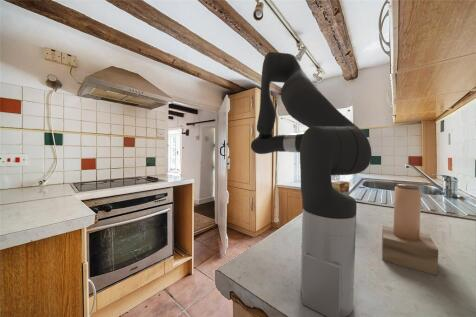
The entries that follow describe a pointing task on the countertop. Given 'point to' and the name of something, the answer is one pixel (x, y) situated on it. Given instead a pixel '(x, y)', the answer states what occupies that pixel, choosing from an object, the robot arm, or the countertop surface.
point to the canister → (407, 211)
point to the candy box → (341, 186)
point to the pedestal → (410, 251)
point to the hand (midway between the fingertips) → (344, 141)
